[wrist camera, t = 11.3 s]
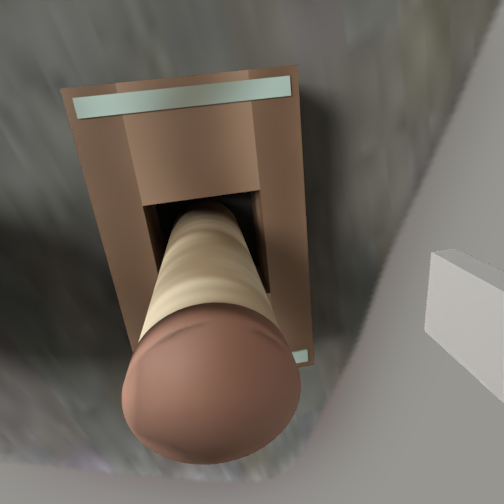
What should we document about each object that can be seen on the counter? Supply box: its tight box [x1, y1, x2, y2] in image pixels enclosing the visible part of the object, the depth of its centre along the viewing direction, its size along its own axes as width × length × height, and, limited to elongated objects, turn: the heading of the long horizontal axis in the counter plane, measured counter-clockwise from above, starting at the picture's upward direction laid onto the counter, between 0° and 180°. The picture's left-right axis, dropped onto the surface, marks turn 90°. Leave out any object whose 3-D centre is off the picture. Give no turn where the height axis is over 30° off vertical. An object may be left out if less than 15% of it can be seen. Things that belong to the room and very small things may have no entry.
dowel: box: [122, 200, 301, 464], centre depth 14 cm, size 4×4×14 cm
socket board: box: [60, 65, 314, 367], centre depth 19 cm, size 10×16×4 cm, turn 6°
